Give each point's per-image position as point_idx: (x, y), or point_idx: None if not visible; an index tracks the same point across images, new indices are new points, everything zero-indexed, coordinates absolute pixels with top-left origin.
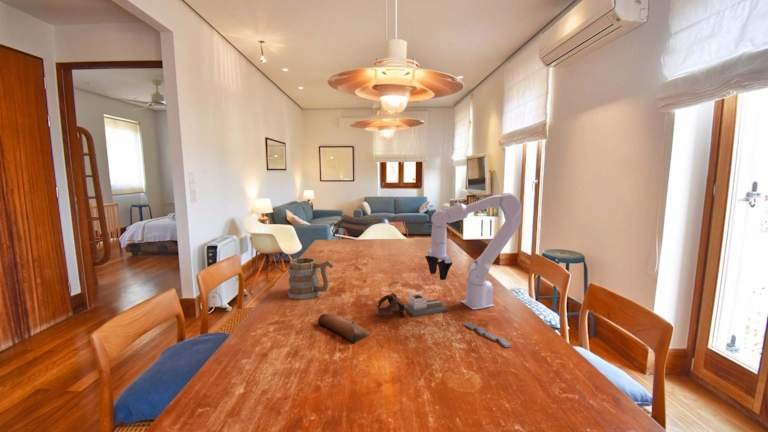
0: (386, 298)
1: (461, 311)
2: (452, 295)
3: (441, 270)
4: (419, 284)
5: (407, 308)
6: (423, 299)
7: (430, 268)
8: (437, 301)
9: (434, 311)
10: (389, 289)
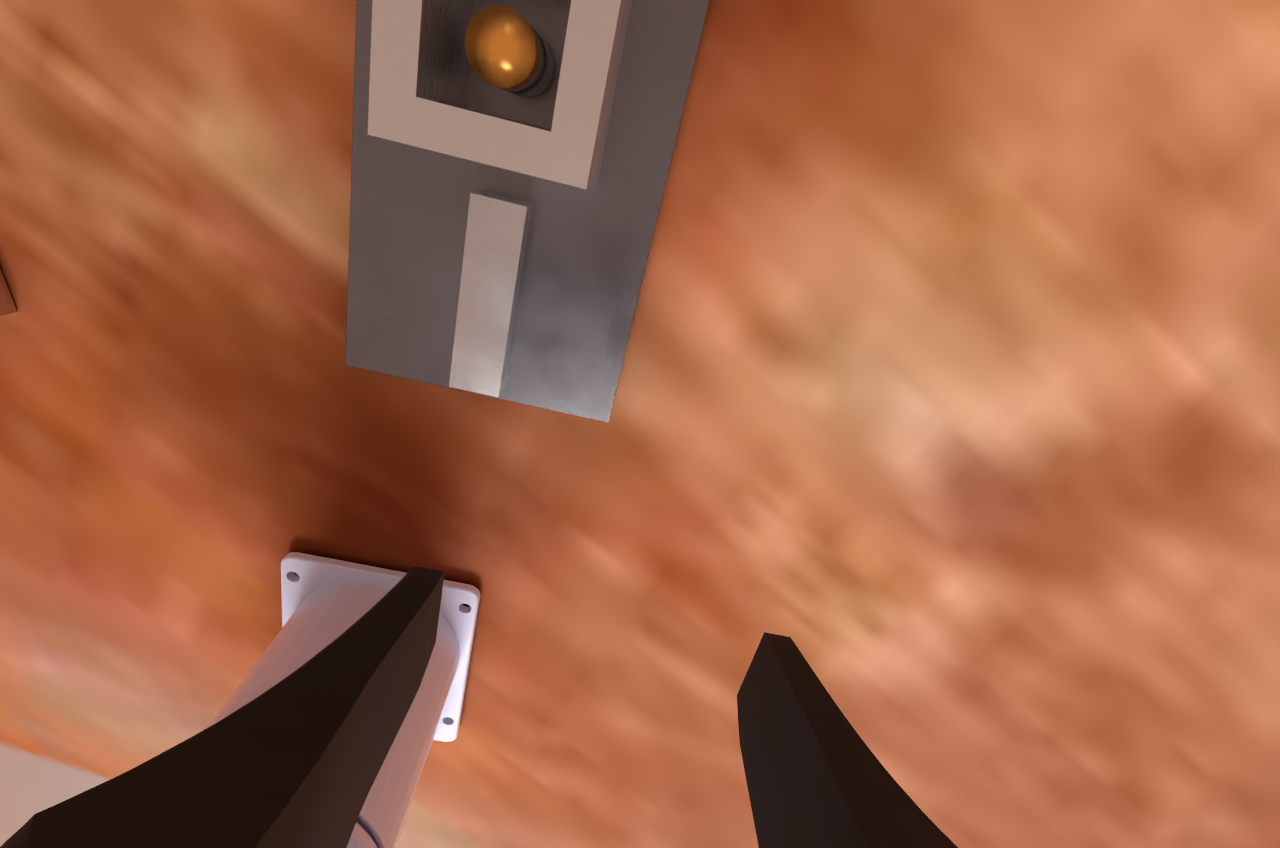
0: None
1: (304, 454)
2: (644, 629)
3: (256, 708)
4: (1063, 582)
5: None
6: (374, 67)
7: (799, 714)
8: (488, 363)
9: (355, 192)
10: (1275, 205)
